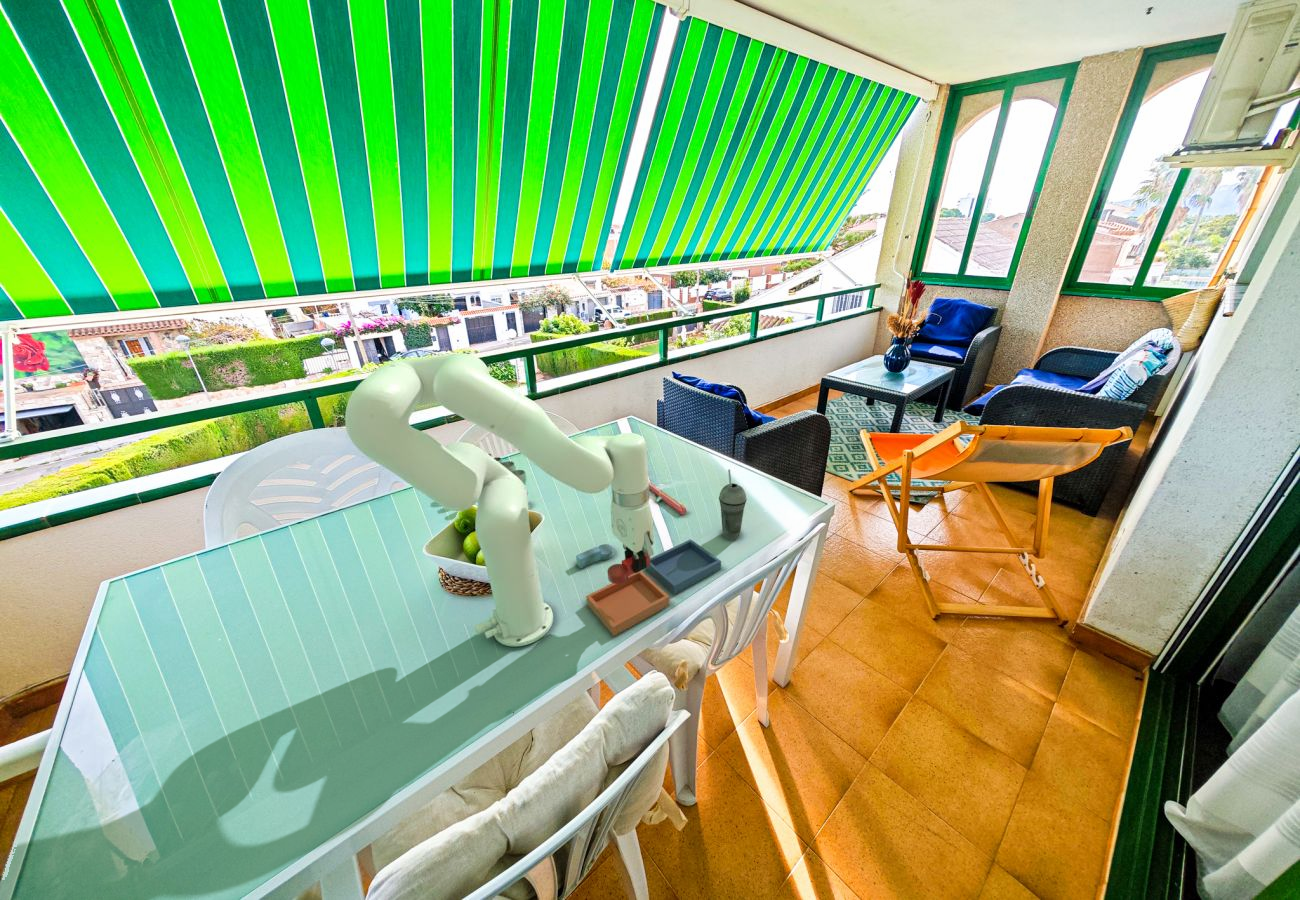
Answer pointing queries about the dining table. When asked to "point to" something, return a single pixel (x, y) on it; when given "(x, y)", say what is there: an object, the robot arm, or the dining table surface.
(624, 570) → the red spoon
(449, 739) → the dining table surface
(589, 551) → the blue-grey rounded block
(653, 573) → the slate tray
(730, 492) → the beverage cup
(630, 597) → the terracotta tray
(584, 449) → the robot arm
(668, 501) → the red bar
